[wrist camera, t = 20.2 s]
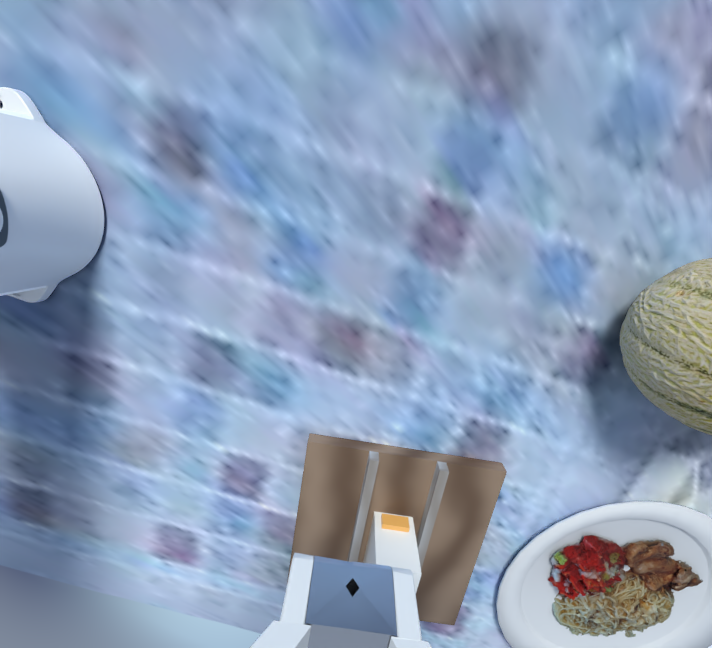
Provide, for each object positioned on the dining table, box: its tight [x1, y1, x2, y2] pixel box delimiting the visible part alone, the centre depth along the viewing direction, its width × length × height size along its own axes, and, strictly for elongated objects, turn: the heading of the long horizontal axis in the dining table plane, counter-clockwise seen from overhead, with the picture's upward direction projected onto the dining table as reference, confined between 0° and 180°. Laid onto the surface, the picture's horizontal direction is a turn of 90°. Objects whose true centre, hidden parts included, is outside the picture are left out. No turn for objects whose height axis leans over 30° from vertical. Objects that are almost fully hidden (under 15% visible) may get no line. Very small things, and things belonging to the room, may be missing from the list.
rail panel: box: [287, 434, 506, 625], centre depth 44 cm, size 22×24×3 cm
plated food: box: [496, 501, 712, 648], centre depth 47 cm, size 30×30×3 cm
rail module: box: [363, 511, 422, 593], centre depth 41 cm, size 4×9×7 cm, turn 171°
